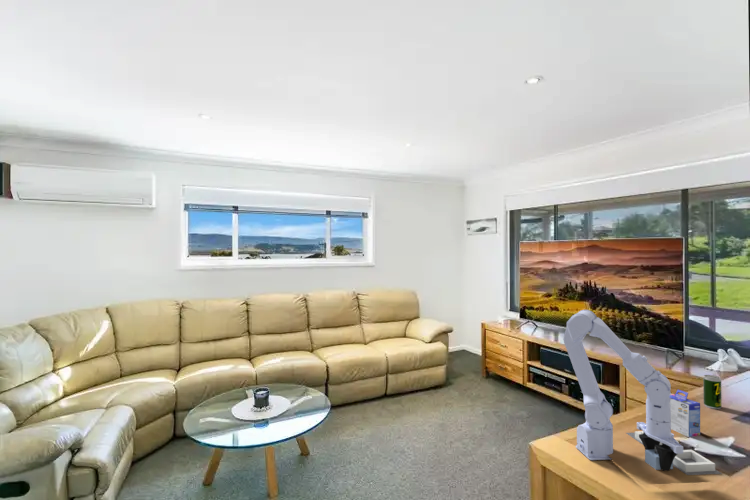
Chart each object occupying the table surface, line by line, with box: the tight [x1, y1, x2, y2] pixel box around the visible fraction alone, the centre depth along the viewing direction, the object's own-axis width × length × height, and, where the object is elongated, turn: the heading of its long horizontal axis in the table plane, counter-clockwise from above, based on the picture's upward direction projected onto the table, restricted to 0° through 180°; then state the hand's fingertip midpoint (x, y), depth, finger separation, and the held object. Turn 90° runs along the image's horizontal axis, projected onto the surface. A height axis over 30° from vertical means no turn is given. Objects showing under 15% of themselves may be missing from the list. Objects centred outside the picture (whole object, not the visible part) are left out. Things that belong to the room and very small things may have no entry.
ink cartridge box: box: [669, 389, 701, 438], centre depth 130 cm, size 10×6×14 cm, turn 15°
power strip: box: [625, 430, 723, 476], centre depth 116 cm, size 10×24×4 cm, turn 3°
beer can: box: [702, 374, 723, 410], centre depth 152 cm, size 5×5×12 cm
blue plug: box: [644, 447, 674, 471], centre depth 109 cm, size 5×4×7 cm
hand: (658, 465), depth 109 cm, fingers closed on blue plug, 4 cm apart
